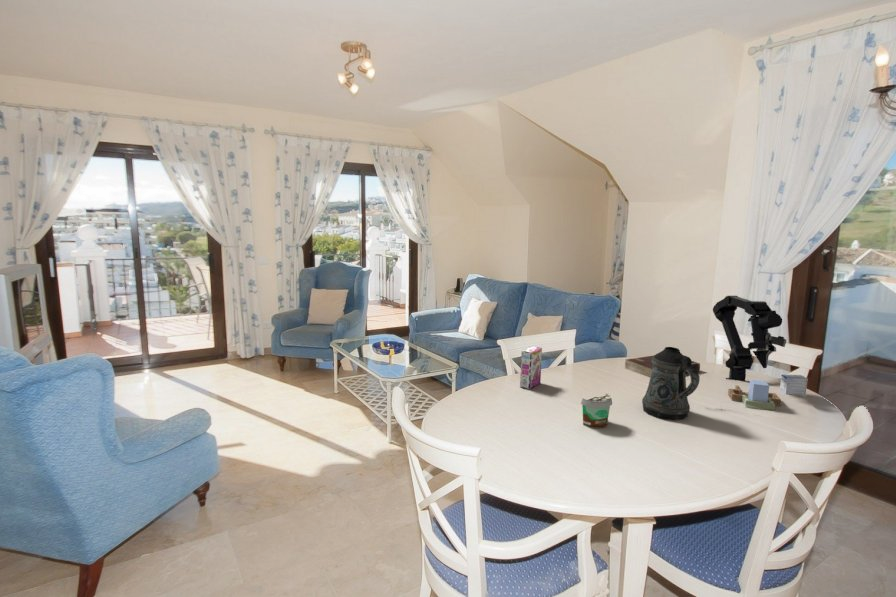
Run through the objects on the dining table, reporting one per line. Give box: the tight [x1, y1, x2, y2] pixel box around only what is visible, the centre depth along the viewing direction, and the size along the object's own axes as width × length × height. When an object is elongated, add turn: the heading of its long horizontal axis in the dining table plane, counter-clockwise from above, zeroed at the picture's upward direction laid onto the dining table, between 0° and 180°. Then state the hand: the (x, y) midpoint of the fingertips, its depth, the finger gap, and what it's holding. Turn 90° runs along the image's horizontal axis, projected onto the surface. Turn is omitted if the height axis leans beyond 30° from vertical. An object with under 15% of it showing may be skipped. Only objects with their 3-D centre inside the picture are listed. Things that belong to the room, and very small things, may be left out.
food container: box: [580, 393, 613, 429], centre depth 169 cm, size 12×6×10 cm, turn 117°
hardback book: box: [624, 355, 701, 378], centre depth 234 cm, size 29×19×5 cm, turn 114°
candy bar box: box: [519, 346, 543, 390], centre depth 210 cm, size 11×5×16 cm, turn 144°
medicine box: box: [779, 374, 809, 399], centre depth 199 cm, size 8×4×9 cm, turn 84°
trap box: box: [727, 385, 782, 411], centre depth 190 cm, size 19×16×4 cm
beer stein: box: [641, 346, 701, 421], centre depth 179 cm, size 16×19×25 cm
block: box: [748, 378, 770, 402], centre depth 185 cm, size 6×5×9 cm
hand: (765, 368), depth 198 cm, fingers closed
